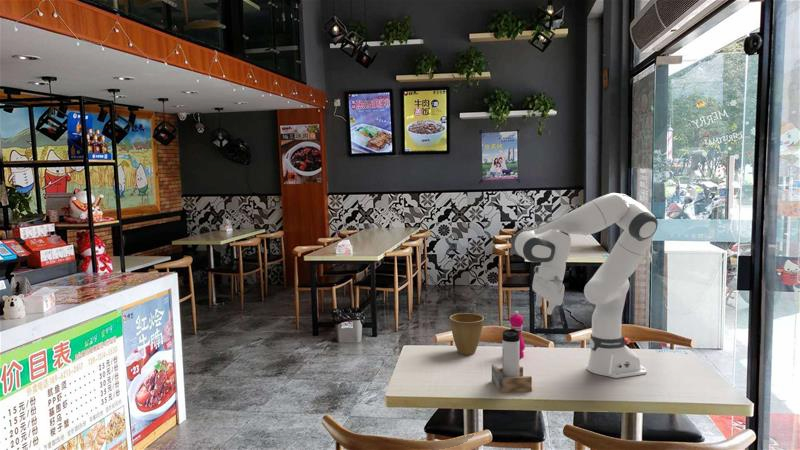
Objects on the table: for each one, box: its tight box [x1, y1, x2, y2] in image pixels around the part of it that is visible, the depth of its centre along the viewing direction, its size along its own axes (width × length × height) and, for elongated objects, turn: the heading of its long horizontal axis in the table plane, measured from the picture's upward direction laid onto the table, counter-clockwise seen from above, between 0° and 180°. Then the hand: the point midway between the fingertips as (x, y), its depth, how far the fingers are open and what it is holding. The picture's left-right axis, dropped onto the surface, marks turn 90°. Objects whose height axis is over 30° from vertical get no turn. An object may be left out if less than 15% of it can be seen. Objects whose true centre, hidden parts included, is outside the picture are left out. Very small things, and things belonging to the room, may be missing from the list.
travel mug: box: [501, 328, 520, 377], centre depth 226 cm, size 6×7×20 cm
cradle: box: [491, 363, 533, 394], centre depth 227 cm, size 12×12×7 cm
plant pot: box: [449, 312, 485, 356], centre depth 266 cm, size 15×15×16 cm
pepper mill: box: [509, 310, 526, 359], centre depth 260 cm, size 7×7×20 cm
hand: (543, 309), depth 221 cm, fingers open, 8 cm apart
